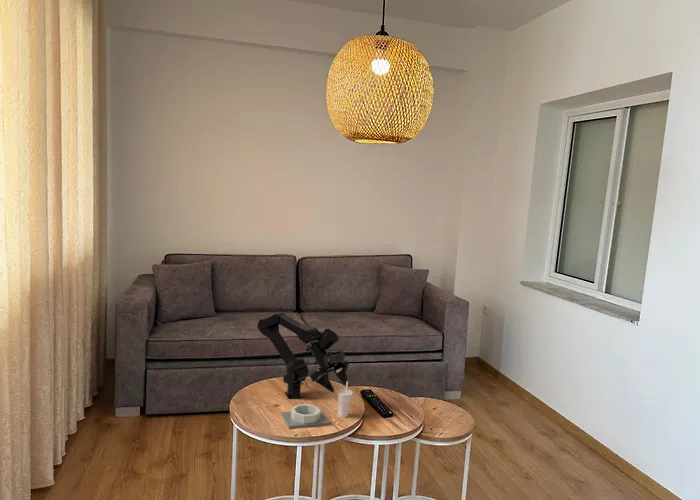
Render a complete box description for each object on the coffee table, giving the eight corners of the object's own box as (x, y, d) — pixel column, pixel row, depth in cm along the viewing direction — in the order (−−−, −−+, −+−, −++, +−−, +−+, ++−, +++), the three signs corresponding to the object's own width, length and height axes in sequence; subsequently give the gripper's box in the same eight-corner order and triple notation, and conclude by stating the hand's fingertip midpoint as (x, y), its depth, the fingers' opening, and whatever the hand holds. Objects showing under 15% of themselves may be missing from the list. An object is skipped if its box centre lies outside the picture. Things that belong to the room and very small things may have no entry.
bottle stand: (281, 415, 200) (281, 405, 200) (320, 411, 206) (320, 402, 206) (289, 428, 189) (289, 418, 188) (330, 424, 195) (330, 414, 195)
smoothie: (349, 419, 201) (352, 385, 199) (333, 417, 202) (336, 382, 200) (352, 413, 207) (355, 379, 206) (337, 411, 208) (339, 377, 207)
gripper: (318, 349, 199) (338, 384, 193) (347, 340, 214) (366, 373, 208) (301, 364, 204) (320, 398, 199) (331, 354, 219) (349, 387, 214)
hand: (340, 389), depth 205 cm, fingers open, 9 cm apart
